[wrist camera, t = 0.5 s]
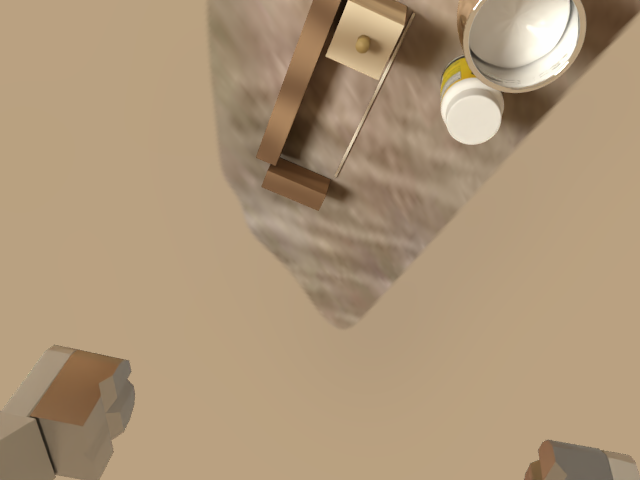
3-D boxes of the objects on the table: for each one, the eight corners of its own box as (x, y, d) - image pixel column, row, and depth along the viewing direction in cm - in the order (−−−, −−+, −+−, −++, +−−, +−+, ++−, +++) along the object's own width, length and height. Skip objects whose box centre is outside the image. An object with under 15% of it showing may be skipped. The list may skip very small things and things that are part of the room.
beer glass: (466, 36, 47) (476, 112, 35) (441, -51, 43) (444, 0, 31) (555, 4, 44) (600, 73, 32) (537, -92, 41) (579, -53, 29)
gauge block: (356, -18, 46) (346, 4, 40) (407, 6, 46) (403, 31, 41) (335, 34, 48) (322, 61, 43) (383, 56, 49) (377, 86, 43)
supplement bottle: (510, 75, 48) (522, 117, 41) (469, 116, 51) (475, 161, 44) (467, 40, 47) (472, 77, 40) (428, 83, 49) (427, 125, 43)
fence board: (325, -28, 45) (319, -20, 43) (415, 13, 46) (414, 24, 44) (254, 165, 57) (246, 180, 55) (327, 196, 58) (322, 212, 56)
